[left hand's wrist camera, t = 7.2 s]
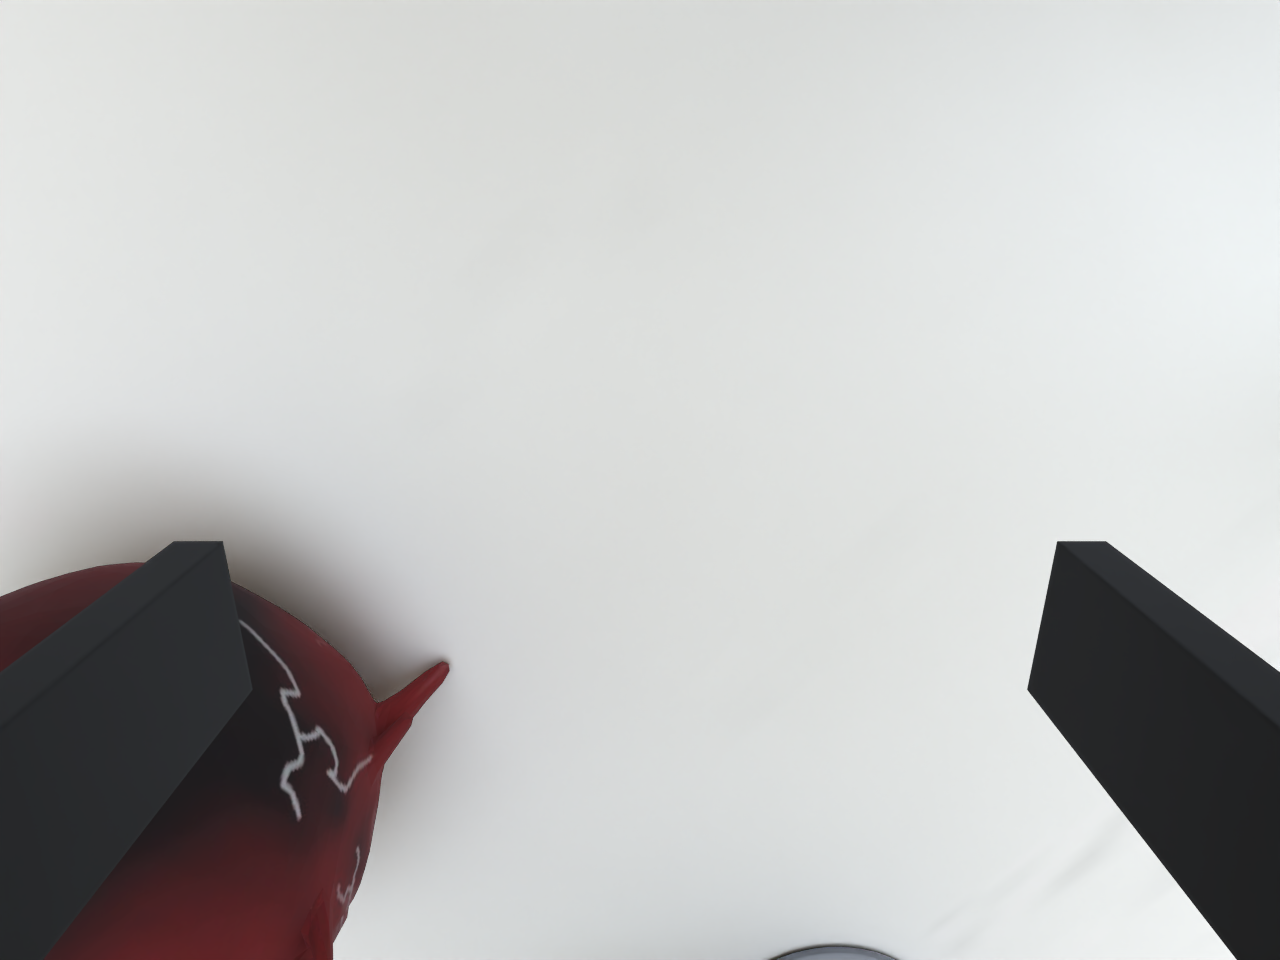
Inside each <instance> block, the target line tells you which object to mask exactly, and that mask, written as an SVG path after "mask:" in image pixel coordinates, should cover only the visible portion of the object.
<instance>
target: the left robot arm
mask: <svg viewBox="0 0 1280 960" xmlns="http://www.w3.org/2000/svg"><path fill="white" fill-rule="evenodd" d="M252 690H253V689H252V684H251V679H250V674H249V669H248V664H247V659H246V654H245V649H244V644H243V639H242V634H241V629H240V624H239V620H238V615H237V610H236V605H235V600H234V595H233V590H232V585H231V580H230V575H229V570H228V565H227V560H226V555H225V550H224V545H223V541H174V542H173V543H171V544H170V545H169V546H167V547H166V548H165V549H163V550H162V551H161V552H159V553H158V554H157V555H155V556H154V557H153V558H151V559H150V560H149V561H147V562H146V563H145V564H143V565H142V566H141V567H139V568H138V569H137V570H135V571H134V572H133V573H131V574H130V575H129V576H127V577H126V578H125V579H123V580H122V581H121V582H119V583H118V584H117V585H115V586H114V587H113V588H111V589H110V590H109V591H107V592H106V593H105V594H103V595H102V596H101V597H99V598H98V599H97V600H96V601H94V602H93V603H92V604H90V605H89V606H88V607H86V608H85V609H84V610H82V611H81V612H80V613H78V614H77V615H76V616H74V617H73V618H72V619H70V620H69V621H68V622H66V623H65V624H64V625H62V626H61V627H60V628H58V629H57V630H56V631H54V632H53V633H52V634H50V635H49V636H48V637H46V638H45V639H44V640H42V641H41V642H40V643H38V644H37V645H36V646H34V647H33V648H32V649H30V650H29V651H28V652H26V653H25V654H24V655H22V656H21V657H20V658H18V659H17V660H16V661H15V662H13V663H12V664H11V665H9V666H8V667H7V668H5V669H4V670H3V671H1V672H0V960H43V959H44V958H45V957H46V955H47V954H48V953H49V952H50V950H51V949H52V948H53V946H54V945H55V944H56V942H57V941H58V940H59V939H60V937H61V936H62V935H63V933H64V932H65V931H66V930H67V928H68V927H69V926H70V924H71V923H72V922H73V921H74V919H75V918H76V917H77V915H78V914H79V913H80V912H81V910H82V909H83V908H84V906H85V905H86V904H87V903H88V901H89V900H90V899H91V897H92V896H93V895H94V894H95V892H96V891H97V890H98V888H99V887H100V886H101V884H102V883H103V882H104V881H105V879H106V878H107V877H108V875H109V874H110V873H111V872H112V870H113V869H114V868H115V866H116V865H117V864H118V863H119V861H120V860H121V859H122V857H123V856H124V855H125V854H126V852H127V851H128V850H129V848H130V847H131V846H132V845H133V843H134V842H135V841H136V839H137V838H138V837H139V836H140V834H141V833H142V832H143V830H144V829H145V828H146V826H147V825H148V824H149V823H150V821H151V820H152V819H153V817H154V816H155V815H156V814H157V812H158V811H159V810H160V808H161V807H162V806H163V805H164V803H165V802H166V801H167V799H168V798H169V797H170V796H171V794H172V793H173V792H174V790H175V789H176V788H177V787H178V785H179V784H180V783H181V781H182V780H183V779H184V778H185V776H186V775H187V774H188V772H189V771H190V770H191V768H192V767H193V766H194V765H195V763H196V762H197V761H198V759H199V758H200V757H201V756H202V754H203V753H204V752H205V750H206V749H207V748H208V747H209V745H210V744H211V743H212V741H213V740H214V739H215V738H216V736H217V735H218V734H219V732H220V731H221V730H222V729H223V727H224V726H225V725H226V723H227V722H228V721H229V720H230V718H231V717H232V716H233V714H234V713H235V712H236V710H237V709H238V708H239V707H240V705H241V704H242V703H243V701H244V700H245V699H246V698H247V696H248V695H249V694H250V692H251V691H252ZM1027 690H1028V691H1029V692H1030V694H1031V695H1032V696H1033V698H1034V699H1035V700H1036V701H1037V703H1038V704H1039V705H1040V707H1041V708H1042V709H1043V710H1044V712H1045V713H1046V714H1047V716H1048V717H1049V718H1050V720H1051V721H1052V722H1053V723H1054V725H1055V726H1056V727H1057V729H1058V730H1059V731H1060V732H1061V734H1062V735H1063V736H1064V738H1065V739H1066V740H1067V741H1068V743H1069V744H1070V745H1071V747H1072V748H1073V749H1074V750H1075V752H1076V753H1077V754H1078V756H1079V757H1080V758H1081V759H1082V761H1083V762H1084V763H1085V765H1086V766H1087V767H1088V768H1089V770H1090V771H1091V772H1092V774H1093V775H1094V776H1095V778H1096V779H1097V780H1098V781H1099V783H1100V784H1101V785H1102V787H1103V788H1104V789H1105V790H1106V792H1107V793H1108V794H1109V796H1110V797H1111V798H1112V799H1113V801H1114V802H1115V803H1116V805H1117V806H1118V807H1119V808H1120V810H1121V811H1122V812H1123V814H1124V815H1125V816H1126V817H1127V819H1128V820H1129V821H1130V823H1131V824H1132V825H1133V826H1134V828H1135V829H1136V830H1137V832H1138V833H1139V834H1140V836H1141V837H1142V838H1143V839H1144V841H1145V842H1146V843H1147V845H1148V846H1149V847H1150V848H1151V850H1152V851H1153V852H1154V854H1155V855H1156V856H1157V857H1158V859H1159V860H1160V861H1161V863H1162V864H1163V865H1164V866H1165V868H1166V869H1167V870H1168V872H1169V873H1170V874H1171V875H1172V877H1173V878H1174V879H1175V881H1176V882H1177V883H1178V884H1179V886H1180V887H1181V888H1182V890H1183V891H1184V892H1185V894H1186V895H1187V896H1188V897H1189V899H1190V900H1191V901H1192V903H1193V904H1194V905H1195V906H1196V908H1197V909H1198V910H1199V912H1200V913H1201V914H1202V915H1203V917H1204V918H1205V919H1206V921H1207V922H1208V923H1209V924H1210V926H1211V927H1212V928H1213V930H1214V931H1215V932H1216V933H1217V935H1218V936H1219V937H1220V939H1221V940H1222V941H1223V942H1224V944H1225V945H1226V946H1227V948H1228V949H1229V950H1230V952H1231V953H1232V954H1233V955H1234V957H1235V958H1236V959H1237V960H1280V672H1279V671H1277V670H1276V669H1275V668H1273V667H1272V666H1271V665H1269V664H1268V663H1267V662H1265V661H1264V660H1263V659H1262V658H1260V657H1259V656H1258V655H1256V654H1255V653H1254V652H1252V651H1251V650H1250V649H1248V648H1247V647H1246V646H1244V645H1243V644H1242V643H1240V642H1239V641H1238V640H1236V639H1235V638H1234V637H1232V636H1231V635H1230V634H1228V633H1227V632H1226V631H1224V630H1223V629H1222V628H1220V627H1219V626H1218V625H1216V624H1215V623H1214V622H1212V621H1211V620H1210V619H1208V618H1207V617H1206V616H1204V615H1203V614H1202V613H1200V612H1199V611H1198V610H1196V609H1195V608H1194V607H1192V606H1191V605H1190V604H1188V603H1187V602H1186V601H1184V600H1183V599H1182V598H1181V597H1179V596H1178V595H1177V594H1175V593H1174V592H1173V591H1171V590H1170V589H1169V588H1167V587H1166V586H1165V585H1163V584H1162V583H1161V582H1159V581H1158V580H1157V579H1155V578H1154V577H1153V576H1151V575H1150V574H1149V573H1147V572H1146V571H1145V570H1143V569H1142V568H1141V567H1139V566H1138V565H1137V564H1135V563H1134V562H1133V561H1131V560H1130V559H1129V558H1127V557H1126V556H1125V555H1123V554H1122V553H1121V552H1119V551H1118V550H1117V549H1115V548H1114V547H1113V546H1111V545H1110V544H1109V543H1107V542H1106V541H1057V545H1056V550H1055V555H1054V560H1053V565H1052V570H1051V575H1050V580H1049V585H1048V590H1047V595H1046V600H1045V605H1044V610H1043V615H1042V620H1041V624H1040V629H1039V634H1038V639H1037V644H1036V649H1035V654H1034V659H1033V664H1032V669H1031V674H1030V679H1029V684H1028V689H1027ZM776 960H895V959H893V958H891V957H889V956H886V955H883V954H880V953H877V952H873V951H870V950H864V949H859V948H850V947H824V948H815V949H809V950H804V951H800V952H796V953H792V954H789V955H786V956H783V957H781V958H778V959H776Z"/></svg>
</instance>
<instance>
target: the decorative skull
mask: <svg viewBox="0 0 1280 960" xmlns="http://www.w3.org/2000/svg"><path fill="white" fill-rule="evenodd" d="M143 564H145V563H124V564H113V565H105V566H97V567H93V568H89V569H85V570H80V571H76V572H72V573H68V574H64V575H61V576H58V577H54V578H51V579H47V580H44V581H41V582H38V583H35V584H32V585H29V586H26V587H24V588H21V589H19V590H16V591H14V592H11V593H9V594H6V595H4V596H1V597H0V672H1V671H3V670H4V669H5V668H7V667H8V666H9V665H11V664H12V663H13V662H15V661H16V660H17V659H18V658H20V657H21V656H22V655H24V654H25V653H26V652H28V651H29V650H30V649H32V648H33V647H34V646H36V645H37V644H38V643H40V642H41V641H42V640H44V639H45V638H46V637H48V636H49V635H50V634H52V633H53V632H54V631H56V630H57V629H58V628H60V627H61V626H62V625H64V624H65V623H66V622H68V621H69V620H70V619H72V618H73V617H74V616H76V615H77V614H78V613H80V612H81V611H82V610H84V609H85V608H86V607H88V606H89V605H90V604H92V603H93V602H94V601H96V600H97V599H98V598H99V597H101V596H102V595H103V594H105V593H106V592H107V591H109V590H110V589H111V588H113V587H114V586H115V585H117V584H118V583H119V582H121V581H122V580H123V579H125V578H126V577H127V576H129V575H130V574H131V573H133V572H134V571H135V570H137V569H138V568H139V567H141V566H142V565H143ZM231 585H232V590H233V595H234V600H235V605H236V610H237V615H238V620H239V624H240V629H241V634H242V639H243V644H244V649H245V654H246V659H247V664H248V669H249V674H250V679H251V684H252V689H253V690H252V691H251V692H250V694H249V695H248V696H247V698H246V699H245V700H244V701H243V703H242V704H241V705H240V707H239V708H238V709H237V710H236V712H235V713H234V714H233V716H232V717H231V718H230V720H229V721H228V722H227V723H226V725H225V726H224V727H223V729H222V730H221V731H220V732H219V734H218V735H217V736H216V738H215V739H214V740H213V741H212V743H211V744H210V745H209V747H208V748H207V749H206V750H205V752H204V753H203V754H202V756H201V757H200V758H199V759H198V761H197V762H196V763H195V765H194V766H193V767H192V768H191V770H190V771H189V772H188V774H187V775H186V776H185V778H184V779H183V780H182V781H181V783H180V784H179V785H178V787H177V788H176V789H175V790H174V792H173V793H172V794H171V796H170V797H169V798H168V799H167V801H166V802H165V803H164V805H163V806H162V807H161V808H160V810H159V811H158V812H157V814H156V815H155V816H154V817H153V819H152V820H151V821H150V823H149V824H148V825H147V826H146V828H145V829H144V830H143V832H142V833H141V834H140V836H139V837H138V838H137V839H136V841H135V842H134V843H133V845H132V846H131V847H130V848H129V850H128V851H127V852H126V854H125V855H124V856H123V857H122V859H121V860H120V861H119V863H118V864H117V865H116V866H115V868H114V869H113V870H112V872H111V873H110V874H109V875H108V877H107V878H106V879H105V881H104V882H103V883H102V884H101V886H100V887H99V888H98V890H97V891H96V892H95V894H94V895H93V896H92V897H91V899H90V900H89V901H88V903H87V904H86V905H85V906H84V908H83V909H82V910H81V912H80V913H79V914H78V915H77V917H76V918H75V919H74V921H73V922H72V923H71V924H70V926H69V927H68V928H67V930H66V931H65V932H64V933H63V935H62V936H61V937H60V939H59V940H58V941H57V942H56V944H55V945H54V946H53V948H52V949H51V950H50V952H49V953H48V954H47V955H46V957H45V958H44V959H43V960H333V942H334V940H335V939H336V937H337V935H338V933H339V931H340V929H341V928H342V926H343V924H344V922H345V920H346V918H347V914H348V907H349V905H350V903H351V902H352V900H353V899H354V896H355V894H356V892H357V890H358V888H359V885H360V883H361V880H362V876H363V873H364V870H365V866H366V863H367V859H368V855H369V852H370V846H371V841H372V835H373V829H374V824H375V819H376V813H377V808H378V801H379V793H380V785H381V777H382V772H383V768H384V764H385V762H386V761H387V760H388V758H389V757H390V755H391V754H392V752H393V751H394V749H395V748H396V747H397V745H398V744H399V742H400V741H401V739H402V738H403V736H404V735H405V734H406V732H407V731H408V729H409V728H410V726H411V724H412V720H413V717H414V716H415V715H416V713H417V712H418V711H419V709H420V708H421V707H422V706H423V704H424V703H425V702H426V701H427V700H428V698H429V697H430V696H431V695H432V694H433V693H434V692H435V691H436V689H437V688H438V687H439V686H440V685H441V684H442V683H443V681H444V679H445V678H446V676H447V674H448V672H449V664H447V663H445V662H441V663H439V664H437V665H436V666H434V667H432V668H431V669H429V670H427V671H426V672H424V673H423V674H422V675H420V676H419V677H418V678H417V679H415V680H414V681H413V682H411V683H410V684H409V685H408V686H406V687H405V688H404V689H402V690H401V691H399V692H398V693H396V694H394V695H393V696H391V697H390V698H388V699H386V700H385V701H382V702H379V703H376V702H375V701H374V700H373V698H372V696H371V695H370V693H369V691H368V689H367V687H366V686H365V684H364V682H363V680H362V679H361V677H360V676H359V675H358V673H357V672H356V671H355V669H354V668H353V667H352V665H351V664H350V663H349V662H348V661H347V660H346V659H345V658H344V657H343V656H342V655H341V654H340V653H339V652H338V651H336V650H335V649H334V648H333V647H332V646H331V645H329V644H328V643H327V642H326V641H325V640H323V639H322V638H321V637H320V636H319V635H317V634H316V633H315V632H314V631H313V630H311V629H310V628H309V627H308V626H306V625H305V624H304V623H302V622H301V621H299V620H298V619H296V618H295V617H293V616H292V615H290V614H289V613H287V612H286V611H284V610H283V609H281V608H279V607H278V606H276V605H274V604H272V603H270V602H269V601H267V600H265V599H263V598H261V597H260V596H258V595H256V594H254V593H252V592H250V591H249V590H247V589H245V588H243V587H241V586H239V585H237V584H235V583H233V582H231Z"/></svg>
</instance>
